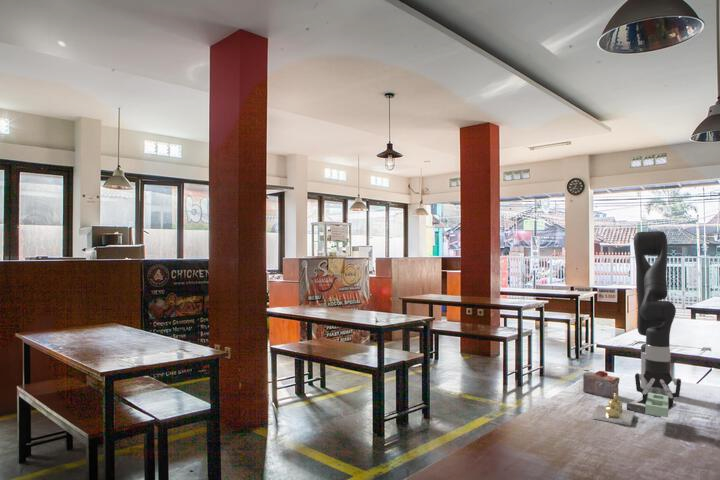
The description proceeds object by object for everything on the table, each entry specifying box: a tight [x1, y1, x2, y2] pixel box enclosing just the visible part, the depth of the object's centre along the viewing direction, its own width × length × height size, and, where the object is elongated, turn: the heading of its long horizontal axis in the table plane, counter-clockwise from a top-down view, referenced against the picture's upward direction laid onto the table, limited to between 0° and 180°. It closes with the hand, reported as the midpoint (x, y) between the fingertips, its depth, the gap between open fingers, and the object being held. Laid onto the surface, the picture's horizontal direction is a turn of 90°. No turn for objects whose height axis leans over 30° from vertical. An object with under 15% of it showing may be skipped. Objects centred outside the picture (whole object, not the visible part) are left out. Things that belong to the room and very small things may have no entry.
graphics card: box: [626, 393, 661, 417], centre depth 191 cm, size 10×3×25 cm
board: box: [644, 393, 670, 418], centre depth 171 cm, size 16×6×3 cm, turn 146°
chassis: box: [592, 393, 636, 426], centre depth 178 cm, size 13×12×8 cm
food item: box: [582, 370, 621, 399], centre depth 207 cm, size 14×8×10 cm, turn 42°
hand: (657, 406), depth 171 cm, fingers closed on board, 6 cm apart
